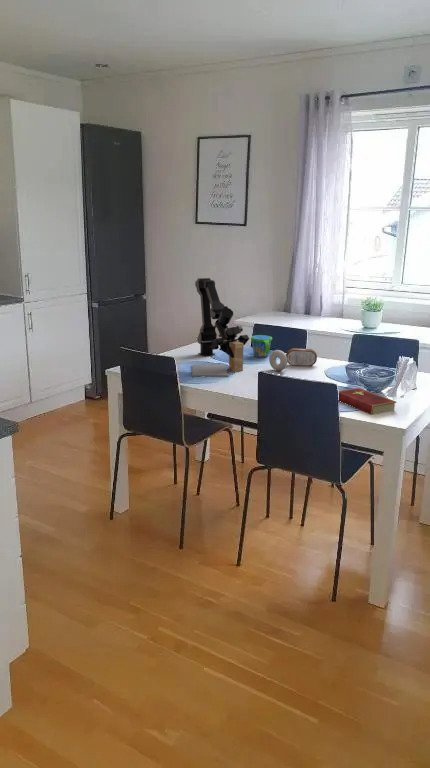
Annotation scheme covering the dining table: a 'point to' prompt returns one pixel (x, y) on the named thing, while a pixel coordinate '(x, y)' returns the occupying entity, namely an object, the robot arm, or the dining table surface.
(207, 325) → the robot arm
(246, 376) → the dining table surface
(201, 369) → the slate mat
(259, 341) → the snack cup
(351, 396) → the hardcover book
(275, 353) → the donut
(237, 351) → the wooden block
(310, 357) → the tin
